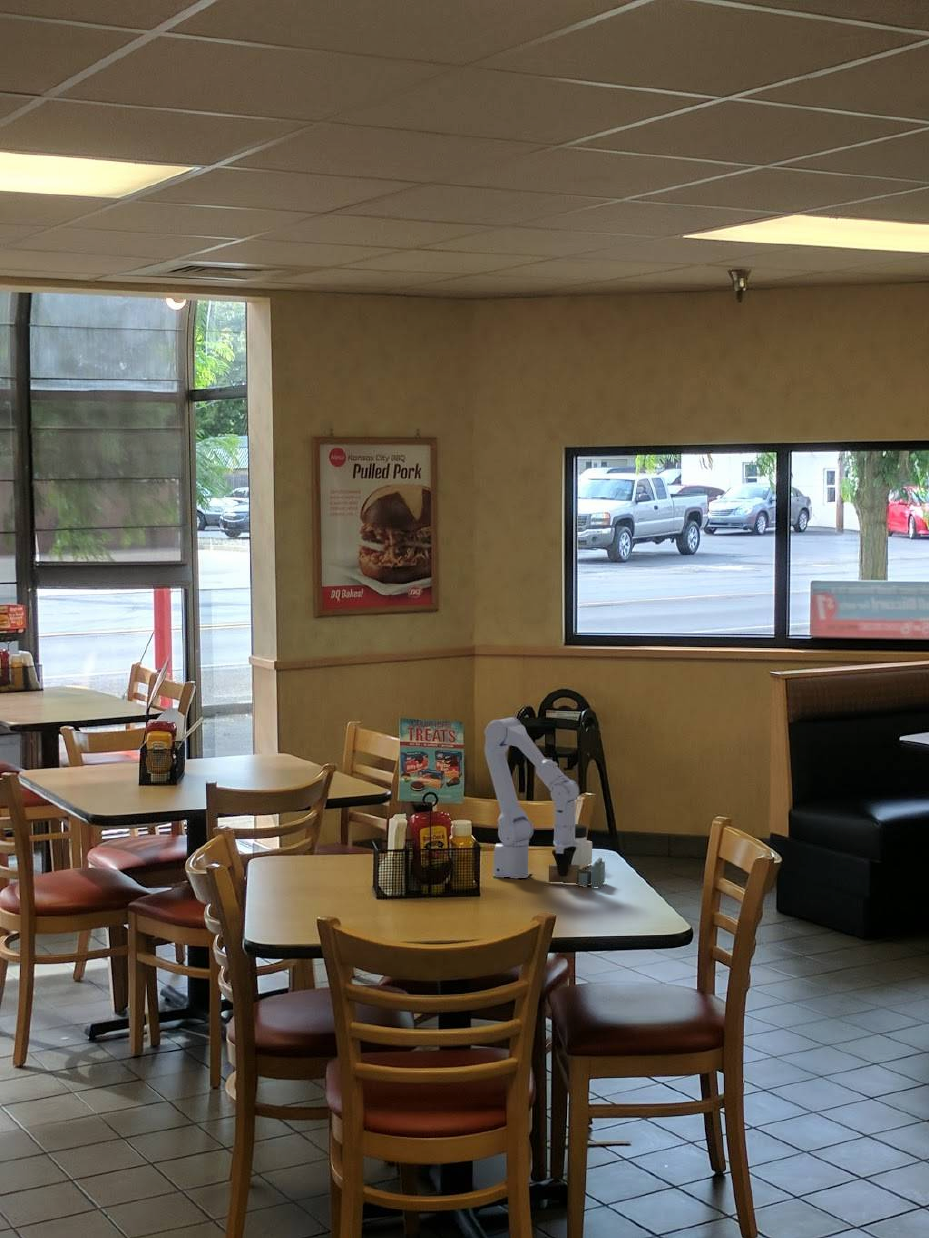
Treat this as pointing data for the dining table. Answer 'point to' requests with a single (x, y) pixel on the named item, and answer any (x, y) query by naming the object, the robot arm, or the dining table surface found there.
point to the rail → (568, 874)
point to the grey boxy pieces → (594, 875)
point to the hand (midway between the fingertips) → (564, 874)
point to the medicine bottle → (582, 847)
